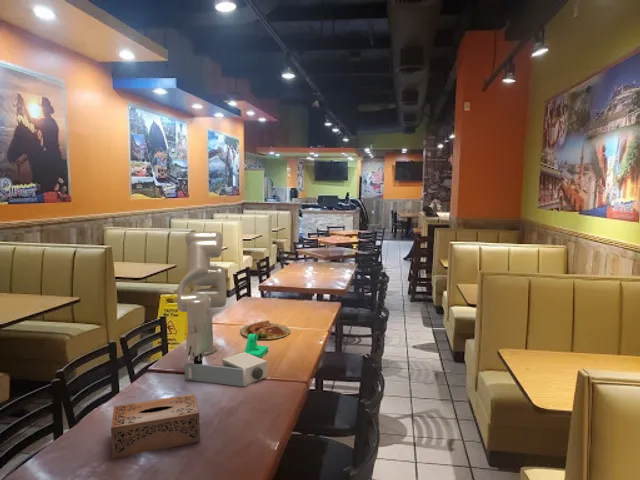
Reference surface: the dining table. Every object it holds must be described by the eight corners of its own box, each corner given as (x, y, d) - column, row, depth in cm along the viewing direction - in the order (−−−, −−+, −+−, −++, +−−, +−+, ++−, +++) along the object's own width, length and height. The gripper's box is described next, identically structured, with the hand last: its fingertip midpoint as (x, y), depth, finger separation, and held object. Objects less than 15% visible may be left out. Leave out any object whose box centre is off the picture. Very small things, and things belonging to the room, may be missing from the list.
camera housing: (222, 374, 199) (222, 359, 198) (244, 366, 207) (244, 351, 207) (247, 386, 187) (247, 370, 186) (269, 377, 195) (269, 362, 195)
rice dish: (299, 332, 260) (299, 323, 260) (269, 344, 237) (269, 334, 236) (261, 324, 275) (261, 316, 275) (229, 335, 252) (229, 325, 251)
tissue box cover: (112, 459, 137) (110, 427, 136) (115, 434, 151) (114, 406, 150) (200, 442, 147) (199, 412, 145) (195, 420, 160) (194, 393, 159)
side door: (183, 380, 192) (183, 364, 191) (186, 378, 194) (185, 362, 193) (244, 387, 185) (244, 371, 184) (246, 385, 187) (246, 369, 186)
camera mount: (259, 360, 216) (258, 339, 215) (244, 358, 218) (244, 337, 217) (268, 351, 227) (268, 331, 226) (254, 349, 229) (254, 330, 228)
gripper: (198, 321, 201) (199, 361, 203) (179, 332, 186) (180, 374, 188) (213, 323, 199) (214, 363, 201) (195, 333, 184) (197, 376, 187)
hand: (198, 368), depth 195 cm, fingers closed
